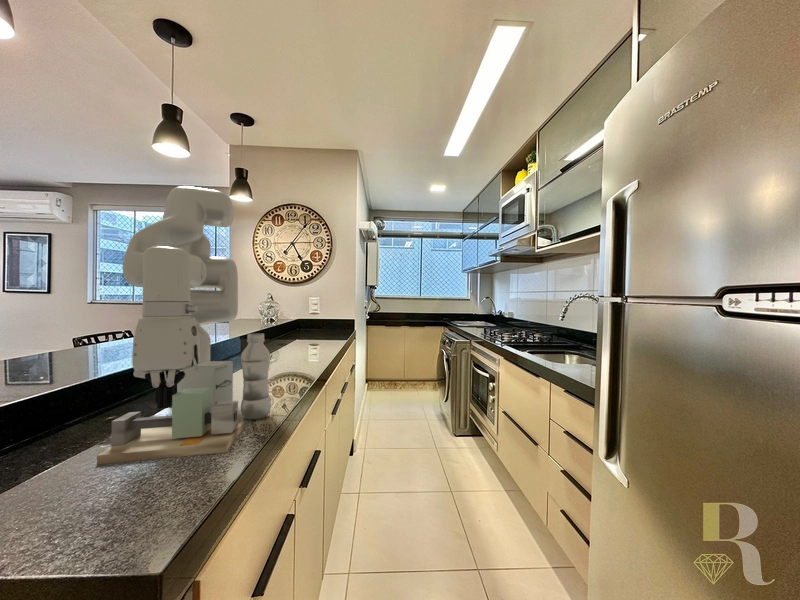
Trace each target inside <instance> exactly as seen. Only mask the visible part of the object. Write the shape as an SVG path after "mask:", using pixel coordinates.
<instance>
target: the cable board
mask: <svg viewBox="0 0 800 600" xmlns="http://www.w3.org/2000/svg"><path fill="white" fill-rule="evenodd" d="M210 423H211V428H210V429H209V430H208V431H207V432H206V433H204V434H203V435H202V436H198V437H186V438H174V439H172V415H163V416H162V415H161V416H147V417H146V416H145V417H142V411H131V412H127V413H126V414H123V415H121V416H120V417H118V418H116V419H114V420H111V439H110V441H111V444H110V445H111V446H110V447H108V448H107V449H105V450H103V451H102V452H100V453H99V454H97V455H96V465H105V464H107V465H108V464H115V463H124V462H136V461H138V462H139V461H146V460H159V459H167V458H168V459H169V458H170V459H171V458H179V457H189V456H199V455H210V454H219V453H220V454H221V453H227V452H228V450H229V449H230V447H231V446H232V445H233V443H234V442H235V441H236V440H237V438H238V437H239V435H240V434H241V433H242V431H243V430H244V429H245V420H239V400H233V401H229V402H219V403H217V404H216V405H215V406H214V407H212V408H211V413H206V414H205V424H210Z"/></svg>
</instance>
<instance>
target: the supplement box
mask: <svg viewBox="0 0 800 600" xmlns="http://www.w3.org/2000/svg"><path fill="white" fill-rule="evenodd" d="M233 365H234V361H233V360H232V361H231V360H212V361H211V360H210V361H207V362H203V363H199V364H197V366H198V370H199V371H198V373H196V374H193V375H189V376H187V389H190V388H208V387H212V407H214V406H215V405H216V404H217V403H219V402H229V401H234V400H233V396H234V395H233V392H234V391H233V388H234V386H233V385H234V382H233V381H234V378H233V377H234V376H233V375H234V373H233V371H234V369H233V368H234V367H233Z"/></svg>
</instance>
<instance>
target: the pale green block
mask: <svg viewBox="0 0 800 600" xmlns="http://www.w3.org/2000/svg"><path fill="white" fill-rule="evenodd" d="M211 408H212V387H208V388H190V389H183V390H182V391H180V392H178V393H176V394H174V395H172V406H171V410H172V411H171V413H172V415H171V416H172V439H174V438H186V437H198V436H202V435H203V434H204V433H206V432H207V431H208V430H209V429H210V428H211V423H210V424H205V414H206V413H211Z"/></svg>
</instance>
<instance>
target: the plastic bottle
mask: <svg viewBox="0 0 800 600" xmlns="http://www.w3.org/2000/svg"><path fill="white" fill-rule="evenodd" d="M246 337H247V339H246V342H247V346H246V347H245V348H244V349H243V351H242V352H241V355H240V362H241V369H242V378H243V381H242V382H243V387H242V399H241V402H240V403H241V404H240V412H241V416H242V417H243V419H246V420H259V419H263V418H266V417H267V416H268V415H269V414H270V413H271V408H272V403H271V397H270V392H269V390H270V389H269V371H270V363H271V354H270V353H271V352H270V350H269V349H268V348H267V347H266V345H265V344H264V342H266V341H265V333H248V334H247V336H246Z"/></svg>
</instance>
